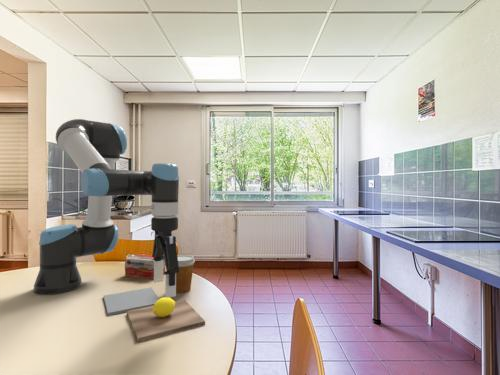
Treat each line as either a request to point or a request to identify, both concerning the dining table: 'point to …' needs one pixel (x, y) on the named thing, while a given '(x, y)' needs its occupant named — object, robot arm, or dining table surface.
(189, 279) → the disposable coffee cup
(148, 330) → the walnut board
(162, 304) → the lemon
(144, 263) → the medicine box
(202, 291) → the dining table surface
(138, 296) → the slate grey mat
